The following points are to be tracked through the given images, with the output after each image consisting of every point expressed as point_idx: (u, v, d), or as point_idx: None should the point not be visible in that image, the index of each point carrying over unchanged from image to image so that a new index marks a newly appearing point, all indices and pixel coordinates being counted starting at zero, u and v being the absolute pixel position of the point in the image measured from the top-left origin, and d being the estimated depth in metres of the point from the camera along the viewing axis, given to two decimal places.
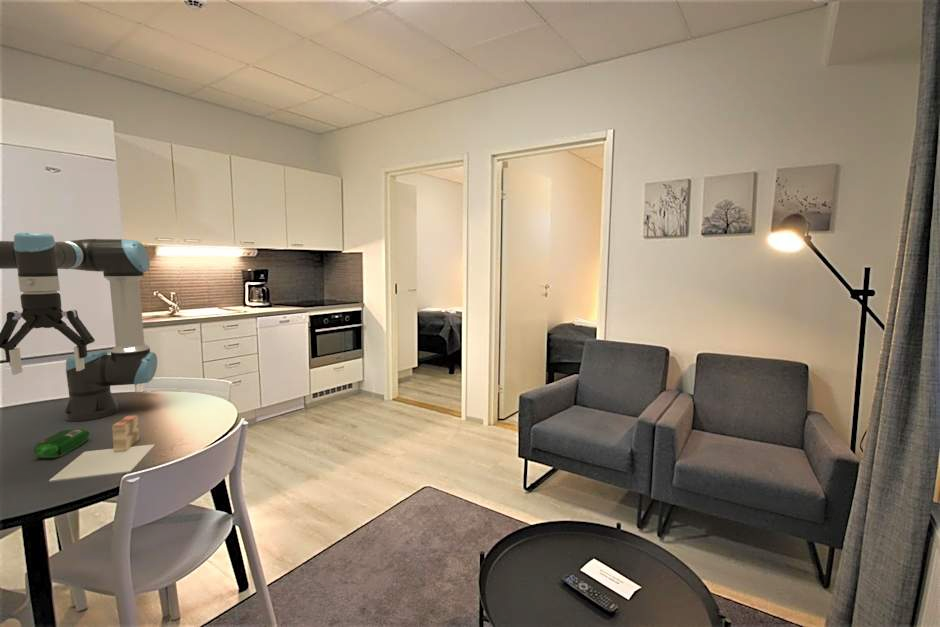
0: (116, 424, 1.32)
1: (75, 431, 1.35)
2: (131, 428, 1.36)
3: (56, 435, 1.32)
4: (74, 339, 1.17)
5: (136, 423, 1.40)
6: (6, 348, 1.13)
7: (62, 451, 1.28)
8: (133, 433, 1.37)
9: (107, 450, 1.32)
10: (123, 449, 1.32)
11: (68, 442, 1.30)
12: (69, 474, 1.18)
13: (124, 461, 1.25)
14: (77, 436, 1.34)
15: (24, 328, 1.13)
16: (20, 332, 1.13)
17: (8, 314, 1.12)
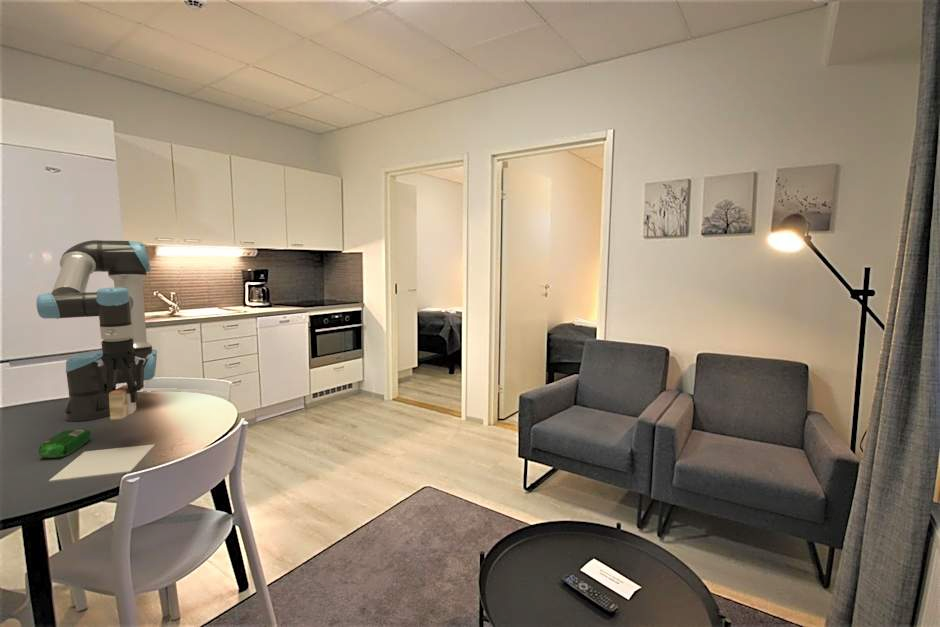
0: (113, 392, 1.30)
1: (78, 431, 1.35)
2: None
3: (59, 435, 1.32)
4: (130, 386, 1.34)
5: None
6: None
7: (67, 450, 1.29)
8: None
9: (107, 450, 1.32)
10: (120, 417, 1.31)
11: (73, 441, 1.31)
12: (69, 474, 1.18)
13: (124, 461, 1.25)
14: (81, 435, 1.34)
15: (111, 372, 1.31)
16: (111, 376, 1.32)
17: (93, 364, 1.30)
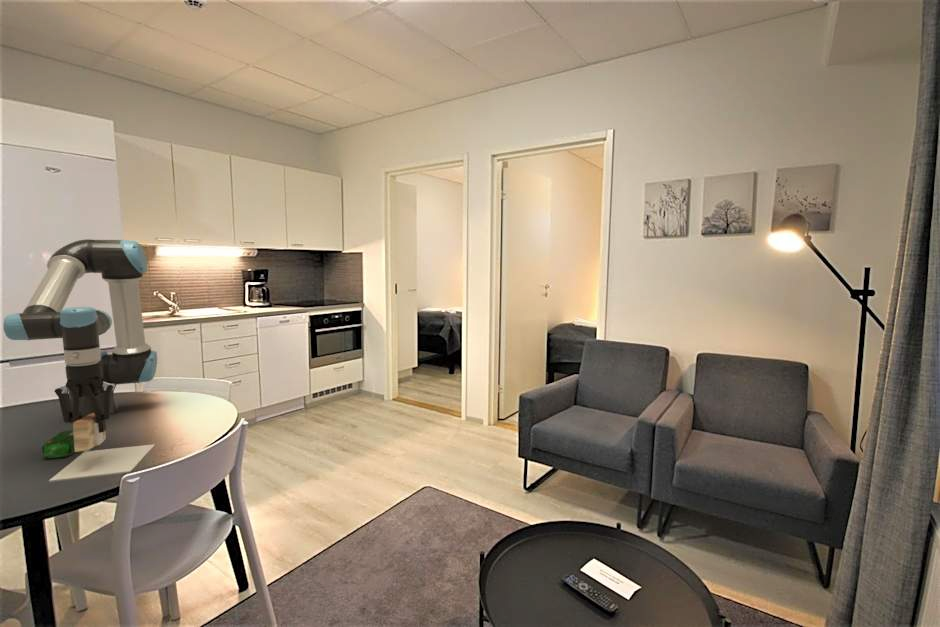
0: (78, 421, 1.19)
1: None
2: None
3: (59, 435, 1.32)
4: (98, 414, 1.23)
5: None
6: None
7: (72, 450, 1.29)
8: None
9: (107, 450, 1.32)
10: (85, 449, 1.19)
11: None
12: (69, 474, 1.18)
13: (124, 461, 1.25)
14: None
15: (76, 399, 1.20)
16: (76, 404, 1.21)
17: (56, 391, 1.19)
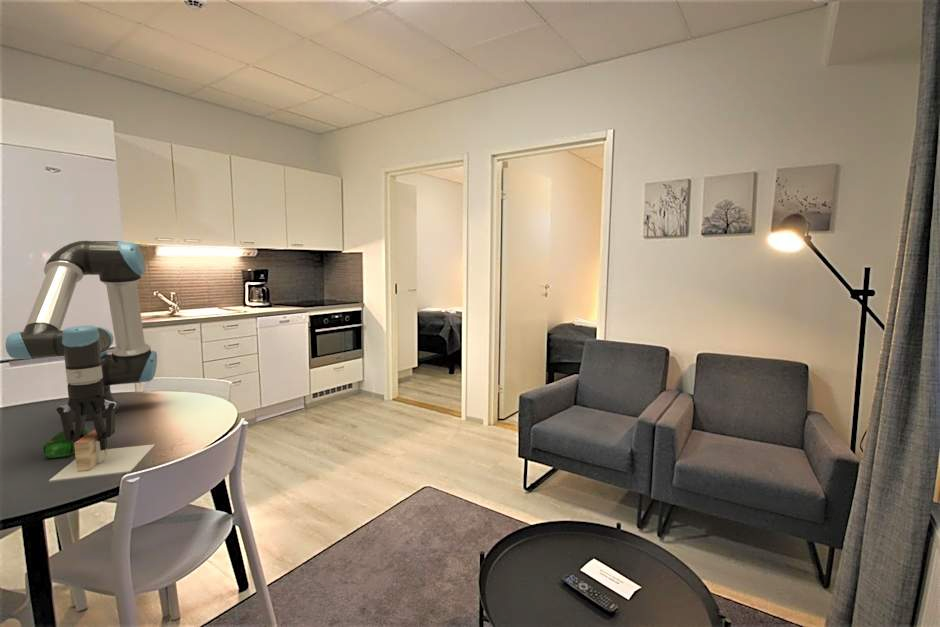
0: (79, 441, 1.19)
1: None
2: None
3: (59, 435, 1.32)
4: (100, 432, 1.23)
5: None
6: None
7: (73, 449, 1.30)
8: None
9: (107, 450, 1.32)
10: (87, 468, 1.20)
11: None
12: (69, 474, 1.18)
13: (124, 461, 1.25)
14: None
15: (78, 418, 1.21)
16: (78, 423, 1.21)
17: (58, 410, 1.19)
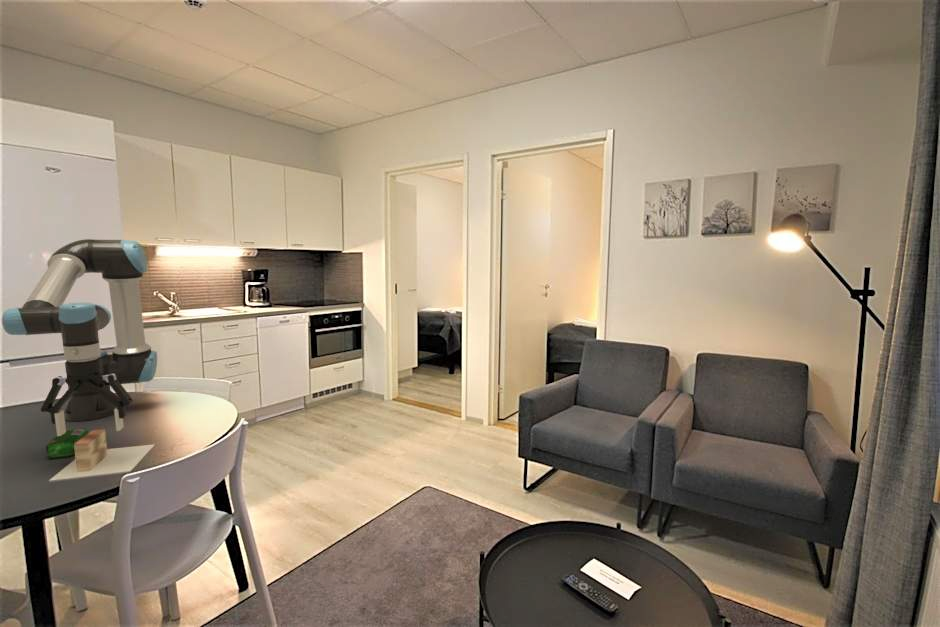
0: (79, 442, 1.19)
1: (78, 430, 1.36)
2: (97, 445, 1.24)
3: (61, 435, 1.32)
4: (115, 402, 1.24)
5: (103, 438, 1.27)
6: (52, 412, 1.19)
7: None
8: (99, 450, 1.25)
9: (107, 450, 1.32)
10: (87, 469, 1.20)
11: None
12: (69, 474, 1.18)
13: (124, 461, 1.25)
14: (83, 434, 1.35)
15: (68, 393, 1.20)
16: (65, 397, 1.20)
17: (53, 380, 1.19)
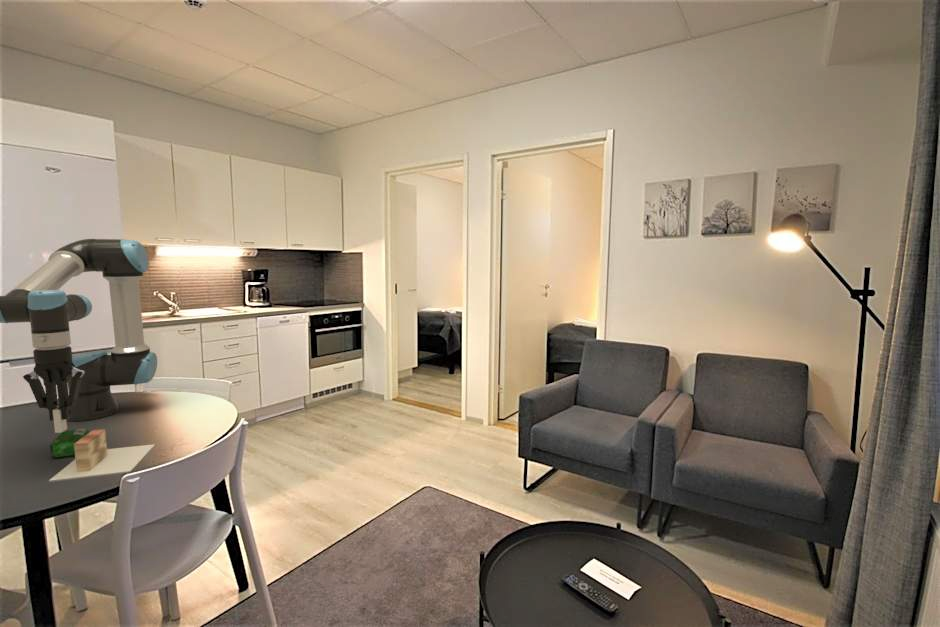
0: (79, 442, 1.19)
1: (80, 430, 1.36)
2: (97, 445, 1.24)
3: (63, 435, 1.32)
4: (62, 401, 1.19)
5: (103, 438, 1.27)
6: (50, 408, 1.19)
7: None
8: (99, 450, 1.25)
9: (107, 450, 1.32)
10: (87, 469, 1.20)
11: None
12: (69, 474, 1.18)
13: (124, 461, 1.25)
14: (85, 434, 1.36)
15: (47, 384, 1.18)
16: (48, 389, 1.18)
17: (25, 377, 1.16)
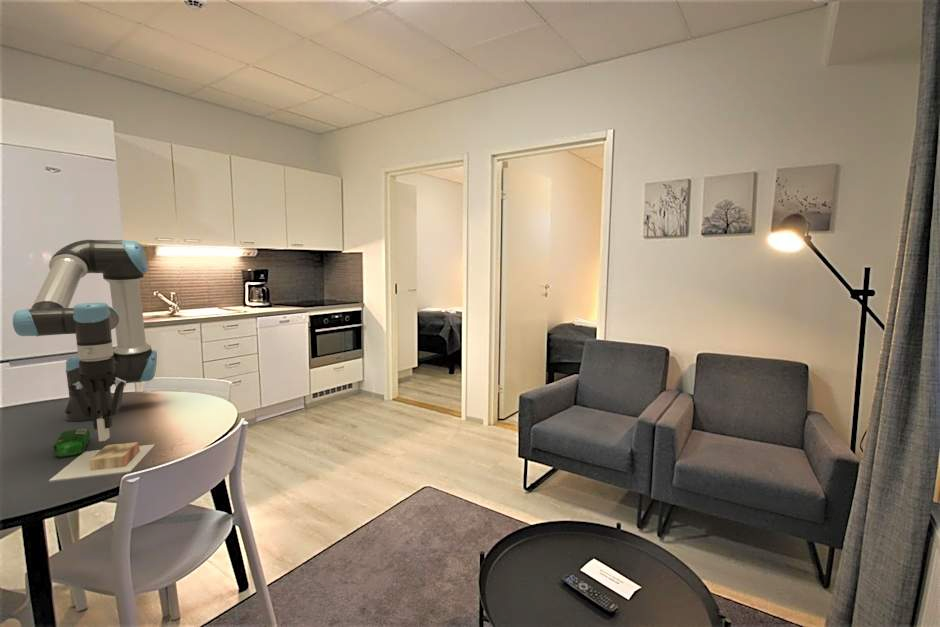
0: (125, 457, 1.23)
1: (81, 430, 1.36)
2: None
3: (65, 435, 1.32)
4: (105, 410, 1.23)
5: None
6: (94, 417, 1.22)
7: (84, 447, 1.31)
8: None
9: None
10: (92, 468, 1.20)
11: (85, 438, 1.33)
12: (69, 474, 1.18)
13: None
14: (87, 433, 1.36)
15: (92, 394, 1.21)
16: (92, 399, 1.22)
17: (70, 387, 1.20)
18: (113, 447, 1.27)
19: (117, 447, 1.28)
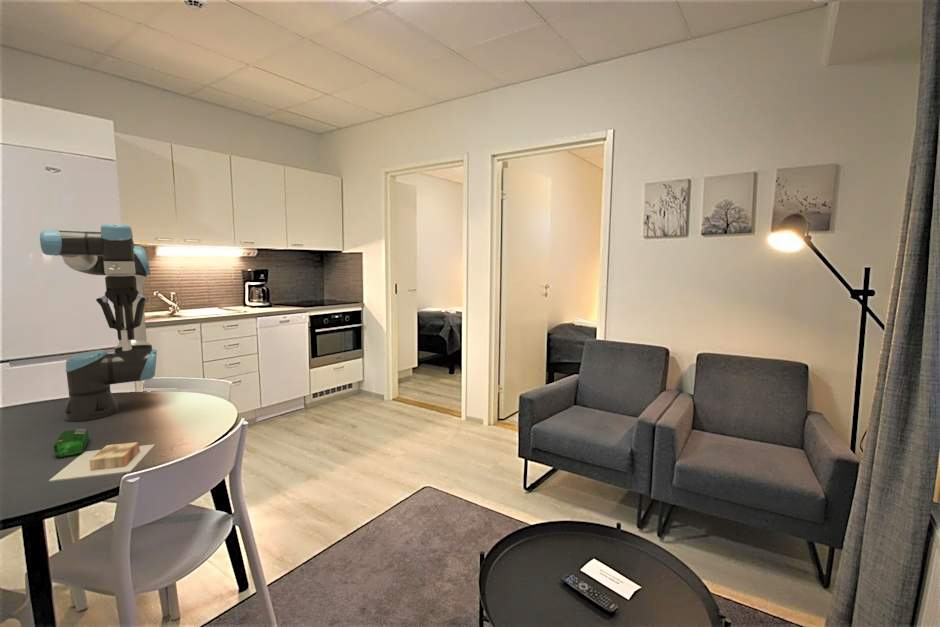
0: (125, 457, 1.23)
1: (80, 430, 1.36)
2: None
3: (64, 435, 1.32)
4: (128, 322, 1.37)
5: None
6: (119, 328, 1.36)
7: (84, 447, 1.31)
8: None
9: None
10: (92, 468, 1.20)
11: (85, 438, 1.33)
12: (69, 474, 1.18)
13: None
14: (86, 433, 1.36)
15: (116, 307, 1.35)
16: (117, 312, 1.35)
17: (98, 300, 1.33)
18: (113, 447, 1.27)
19: (117, 447, 1.28)
